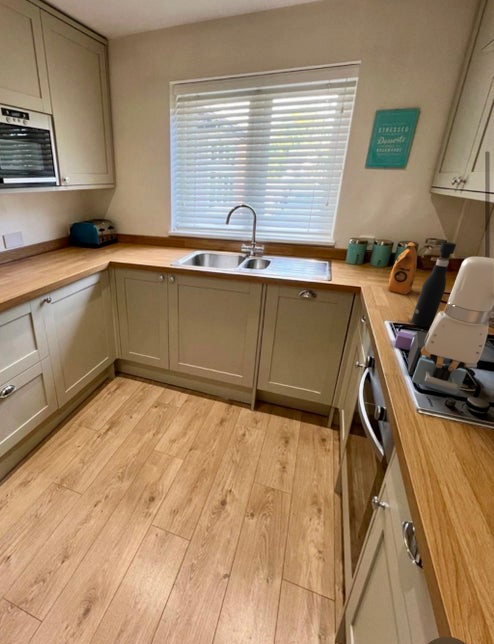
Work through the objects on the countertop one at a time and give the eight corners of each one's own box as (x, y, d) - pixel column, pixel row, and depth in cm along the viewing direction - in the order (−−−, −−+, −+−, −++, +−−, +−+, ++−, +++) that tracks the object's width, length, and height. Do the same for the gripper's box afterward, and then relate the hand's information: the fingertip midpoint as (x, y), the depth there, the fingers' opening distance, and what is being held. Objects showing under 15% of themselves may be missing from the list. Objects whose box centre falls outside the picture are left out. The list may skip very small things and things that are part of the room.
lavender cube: (409, 350, 103) (412, 339, 101) (394, 346, 105) (397, 335, 103) (408, 345, 106) (412, 334, 105) (394, 341, 108) (398, 330, 107)
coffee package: (383, 290, 155) (396, 244, 147) (388, 284, 164) (401, 240, 155) (408, 295, 149) (423, 247, 141) (412, 289, 158) (426, 243, 150)
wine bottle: (434, 325, 121) (464, 244, 109) (427, 329, 118) (456, 246, 106) (415, 318, 126) (442, 240, 114) (407, 322, 122) (434, 242, 111)
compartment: (456, 387, 86) (468, 359, 82) (408, 374, 91) (417, 347, 87) (451, 367, 95) (461, 341, 91) (407, 356, 100) (416, 330, 96)
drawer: (459, 406, 77) (470, 382, 75) (412, 391, 82) (420, 368, 79) (452, 374, 90) (461, 353, 87) (411, 363, 94) (418, 342, 91)
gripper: (506, 315, 73) (474, 384, 80) (425, 300, 80) (403, 364, 87) (514, 327, 67) (480, 400, 74) (426, 309, 74) (402, 377, 81)
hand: (438, 380), depth 81 cm, fingers closed
